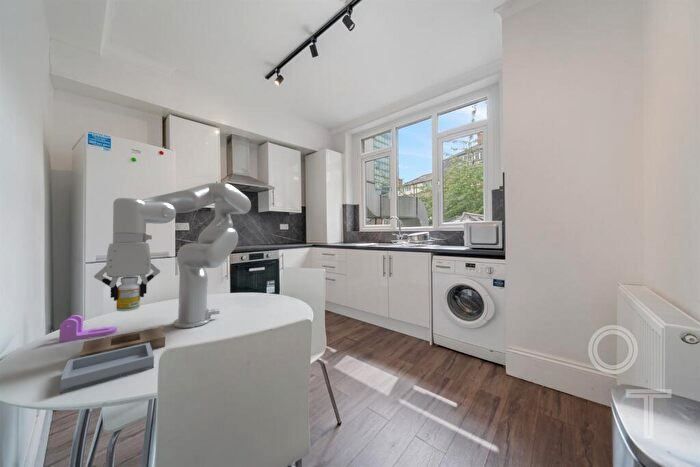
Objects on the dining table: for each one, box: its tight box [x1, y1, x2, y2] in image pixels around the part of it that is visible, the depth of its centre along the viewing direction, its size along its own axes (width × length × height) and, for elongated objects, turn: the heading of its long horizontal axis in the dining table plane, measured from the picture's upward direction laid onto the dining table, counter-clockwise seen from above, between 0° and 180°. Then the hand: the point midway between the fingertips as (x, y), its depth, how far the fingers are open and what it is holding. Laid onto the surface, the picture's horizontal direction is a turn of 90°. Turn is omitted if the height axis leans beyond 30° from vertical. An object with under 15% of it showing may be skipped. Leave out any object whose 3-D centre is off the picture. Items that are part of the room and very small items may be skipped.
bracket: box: [58, 314, 118, 343], centre depth 84 cm, size 13×6×7 cm, turn 123°
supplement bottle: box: [115, 276, 141, 312], centre depth 75 cm, size 5×5×10 cm
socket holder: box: [79, 326, 166, 358], centre depth 74 cm, size 18×11×3 cm, turn 134°
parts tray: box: [59, 343, 155, 394], centre depth 63 cm, size 16×11×3 cm
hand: (129, 297), depth 75 cm, fingers closed on supplement bottle, 5 cm apart
